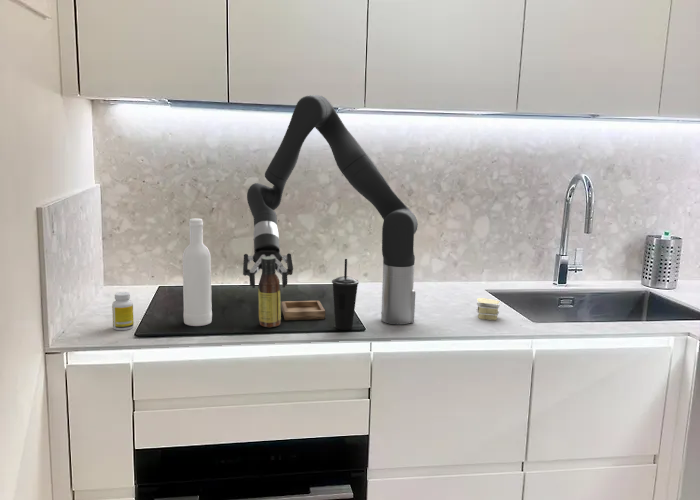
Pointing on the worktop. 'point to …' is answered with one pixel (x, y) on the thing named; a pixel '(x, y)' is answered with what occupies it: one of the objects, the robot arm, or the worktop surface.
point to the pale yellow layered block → (487, 308)
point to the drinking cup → (344, 300)
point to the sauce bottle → (269, 294)
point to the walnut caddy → (302, 310)
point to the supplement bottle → (122, 311)
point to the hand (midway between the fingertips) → (268, 286)
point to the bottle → (197, 278)
